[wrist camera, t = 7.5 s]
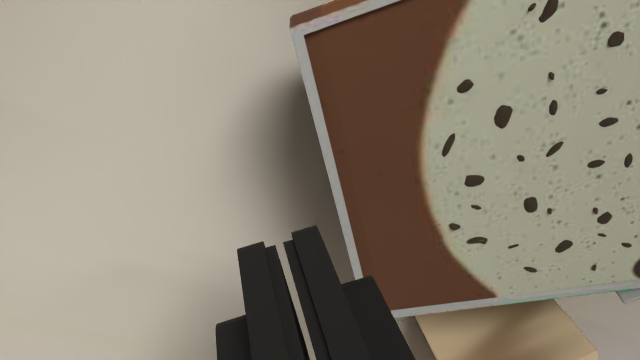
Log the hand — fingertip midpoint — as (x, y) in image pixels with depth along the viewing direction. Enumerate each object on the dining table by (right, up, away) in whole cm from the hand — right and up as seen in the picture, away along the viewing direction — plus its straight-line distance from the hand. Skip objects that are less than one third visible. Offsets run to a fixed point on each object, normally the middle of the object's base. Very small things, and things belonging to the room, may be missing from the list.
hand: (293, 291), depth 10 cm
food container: (+1, +3, +5) cm, 6 cm away
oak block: (+8, -4, +12) cm, 15 cm away
